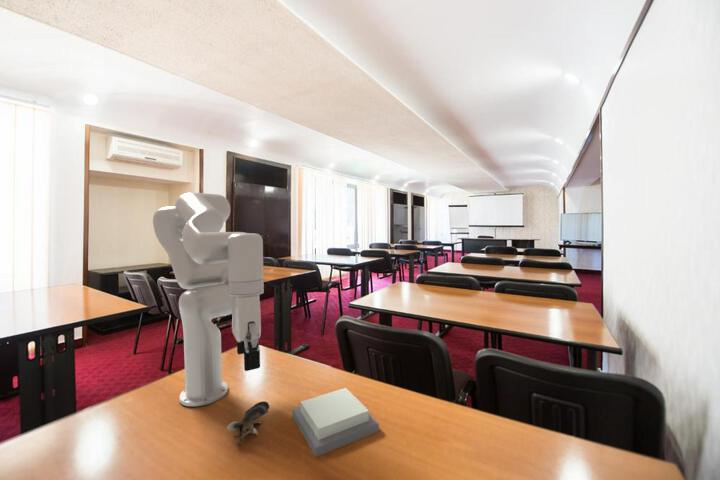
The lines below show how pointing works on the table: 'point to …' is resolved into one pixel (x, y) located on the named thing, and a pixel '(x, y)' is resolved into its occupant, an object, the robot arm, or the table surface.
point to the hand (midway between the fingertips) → (248, 360)
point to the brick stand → (333, 421)
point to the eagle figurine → (249, 421)
